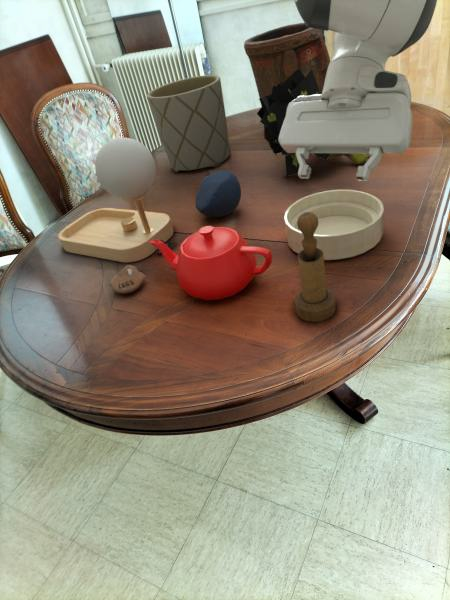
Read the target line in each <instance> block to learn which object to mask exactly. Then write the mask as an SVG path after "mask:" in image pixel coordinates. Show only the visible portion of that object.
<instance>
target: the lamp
mask: <svg viewBox="0 0 450 600" xmlns="http://www.w3.org/2000/svg"><path fill="white" fill-rule="evenodd" d="M94 166H95V167H94V169H95V174H96V177H97V180H98V182H99V184H100V185H101V187H102V188H103V189H104V190H105V191H106V192H107V193H108V194H110V195H112V196H114V197H115V198H118V199H121V200H123V201H125V202H129V203H131V202H134V204H135V208H136V209H135V210H134V209H124V208H114V207H102V208H97V209H93V210H90V211H88V212H86V213H85V214H83V215H82V216H80V217H79V218H77V219H75V220H74V221H73V222H71V223H69V224H68V225H67V226H65V227H64V228H63V229H61V231H59V233H58V235H57V236H58V239H59V241H60V243H61V246H62V248H63V250H64V251H65V252H67V253H72V254H76V255H81V256H87V257H93V258H98V259H104V260H109V261H114V262H119V263H134V262H138V261H142V260H145V258H148V257H150V256H151V255H153V254H154V253H155V252H156V254H161V255H162V253H161V251H160V250H159V249H157V248H156V247H155V246H154V245H153V244H151V243H150V242H149V241H150V240H160V241H162V242H163V243H164V244H166V245H167V246H168V247H169V248H170V249H171V250H172V249H173V248H174V247H175V244H174V243H173V242H172V241H169V239H170V238H171V237H172V236H173V234H174V227H173V223H172V220H171V217H170V216H169V215H168V214H167V213H163V212H156V211H145V210H144V206H143V204H142V199H143V198H145V197H146V196H147V194H148V193H149V190H151V188H152V186H153V184H154V182H155V178H156V174H157V172H156V170H157V168H156V162H155V159H154V156H153V154H152V153H151V151H150V150H149V148H147V146H146V145H144V144H143V143H142V142H140V141H139V140H137V139H134V138H131V137H116V138H113V139H111V140H109V141H107V142H106V143H105V144H104V145H102V147H101V148H100V149H99V151H98V152H97V155H96V158H95V164H94Z"/></svg>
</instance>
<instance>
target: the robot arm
mask: <svg viewBox="0 0 450 600" xmlns="http://www.w3.org/2000/svg"><path fill="white" fill-rule="evenodd" d="M437 2H438V0H294V4H295V7H296V10H297V11H298V15H299V16H300V17H301V19H302V21H303V23H305V24H306V25H307V27H311V28H316V29H321V30H324V31H326V32H329V31H331V32H334V33H335V34H334V37H333V38H334V39H333V43H332V51H333V53H332V57H331V59H330V63H329V66H328V69H327V73H326V77H325V82H324V87H323V91H322V94H315V95H309V96H305V95H301V96H298V97H297V99H294V100H293V101H292V102H290V103H289V105H288V107H287V112H286V117H285V119H284V122H283V125H282V128H281V131H280V134H279V139H278V140H279V143H280V145H281V147H282V148H283V149H284V150H285V151H286V152H287V153H296V156H297V159H298V162H299V165H300V166H299V171H298V174H297V177H298V178H299V179H304V180H309V179H311V174H312V170H313V169H312V168H311V167H310V165H309V164H307V163H306V160H308V159H309V156H310V154H313V153H357V154H369V155H370V158H368V159H367V160H366V161H365V163H364V164H363V165H358V166H357V172H356V175H355V178H356V180H357V181H358V182H369V179H370V174H371V171H373V169H375V167H376V166H377V165H378V164H379V163H380V162H381V160H382V157H383V155H390V154H391V155H401V154H404V153H405V152H406V151H407V150H408V149H409V148H410V145H411V141H412V133H413V114H412V110H411V105H412V90H411V85H410V83H409V80H408V79H407V76H406V75H405V74H403V73H398V72H394V71H389V70H386V63H387V62H388V60H389V58H390V57H392V58H394V57H396V56H398V55H400V54H401V53H403V52H404V51H406V50H407V49H409V48H410V47H412V46H414V45H415V44H416V43H418V42H419V41H420V40H421V38H422V37H423V36H424V35H425V34H426V32H427V31H428V29H429V27H430V24H431V21H432V19H433V16H434V14H435V11H436V7H437V4H438V3H437ZM296 101H297V102H296Z"/></svg>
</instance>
